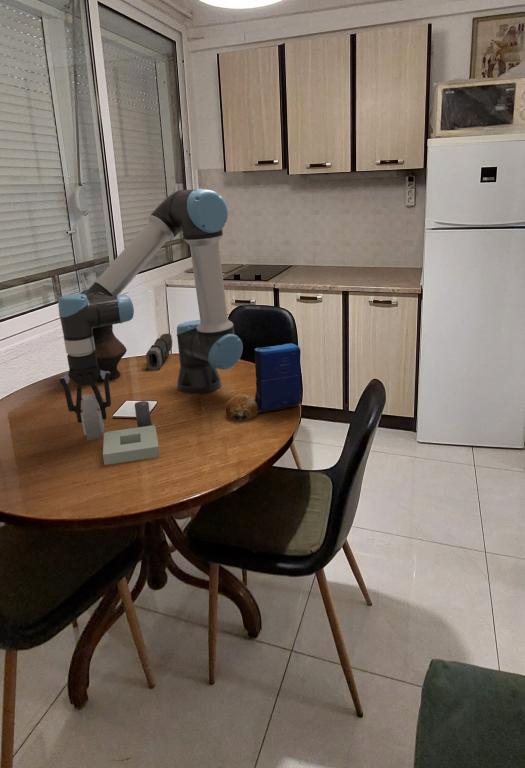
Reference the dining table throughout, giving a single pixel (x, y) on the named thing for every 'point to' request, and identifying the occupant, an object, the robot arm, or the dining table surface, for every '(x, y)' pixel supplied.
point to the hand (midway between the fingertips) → (94, 430)
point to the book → (277, 377)
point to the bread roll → (241, 408)
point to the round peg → (142, 414)
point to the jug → (108, 350)
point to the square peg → (91, 416)
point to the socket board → (130, 445)
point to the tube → (159, 351)
